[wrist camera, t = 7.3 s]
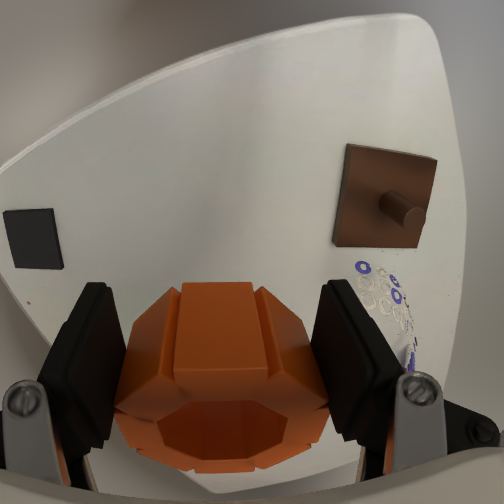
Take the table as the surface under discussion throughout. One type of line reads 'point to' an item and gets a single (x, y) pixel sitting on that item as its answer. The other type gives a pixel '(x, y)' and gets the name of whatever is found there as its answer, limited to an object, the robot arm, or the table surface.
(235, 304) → the orange octagonal tube
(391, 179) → the rack
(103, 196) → the table surface
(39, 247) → the mat
